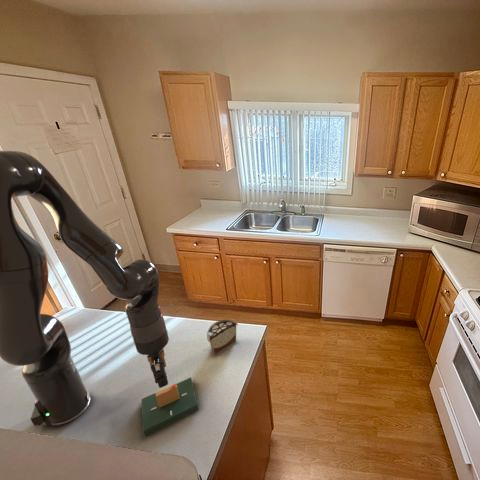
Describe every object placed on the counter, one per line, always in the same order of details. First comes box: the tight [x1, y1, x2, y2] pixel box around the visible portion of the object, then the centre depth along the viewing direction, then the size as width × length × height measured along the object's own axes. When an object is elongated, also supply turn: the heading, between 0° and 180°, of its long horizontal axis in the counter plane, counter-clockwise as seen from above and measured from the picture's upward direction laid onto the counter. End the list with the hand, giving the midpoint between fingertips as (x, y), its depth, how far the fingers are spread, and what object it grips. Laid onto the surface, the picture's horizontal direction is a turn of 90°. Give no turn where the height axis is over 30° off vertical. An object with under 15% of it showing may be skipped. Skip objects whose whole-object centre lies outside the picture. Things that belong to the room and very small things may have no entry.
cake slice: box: [206, 318, 238, 357], centre depth 100 cm, size 12×6×10 cm, turn 141°
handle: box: [154, 383, 180, 408], centre depth 77 cm, size 6×1×5 cm, turn 125°
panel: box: [141, 377, 199, 437], centre depth 78 cm, size 14×11×3 cm
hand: (162, 374), depth 74 cm, fingers open, 8 cm apart
